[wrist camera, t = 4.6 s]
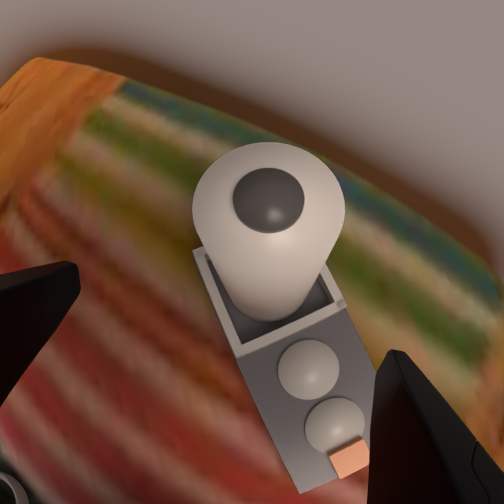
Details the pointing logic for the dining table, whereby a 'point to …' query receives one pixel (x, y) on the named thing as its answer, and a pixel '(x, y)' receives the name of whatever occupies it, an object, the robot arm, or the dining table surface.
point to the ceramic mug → (15, 488)
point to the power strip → (304, 378)
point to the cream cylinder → (268, 225)
